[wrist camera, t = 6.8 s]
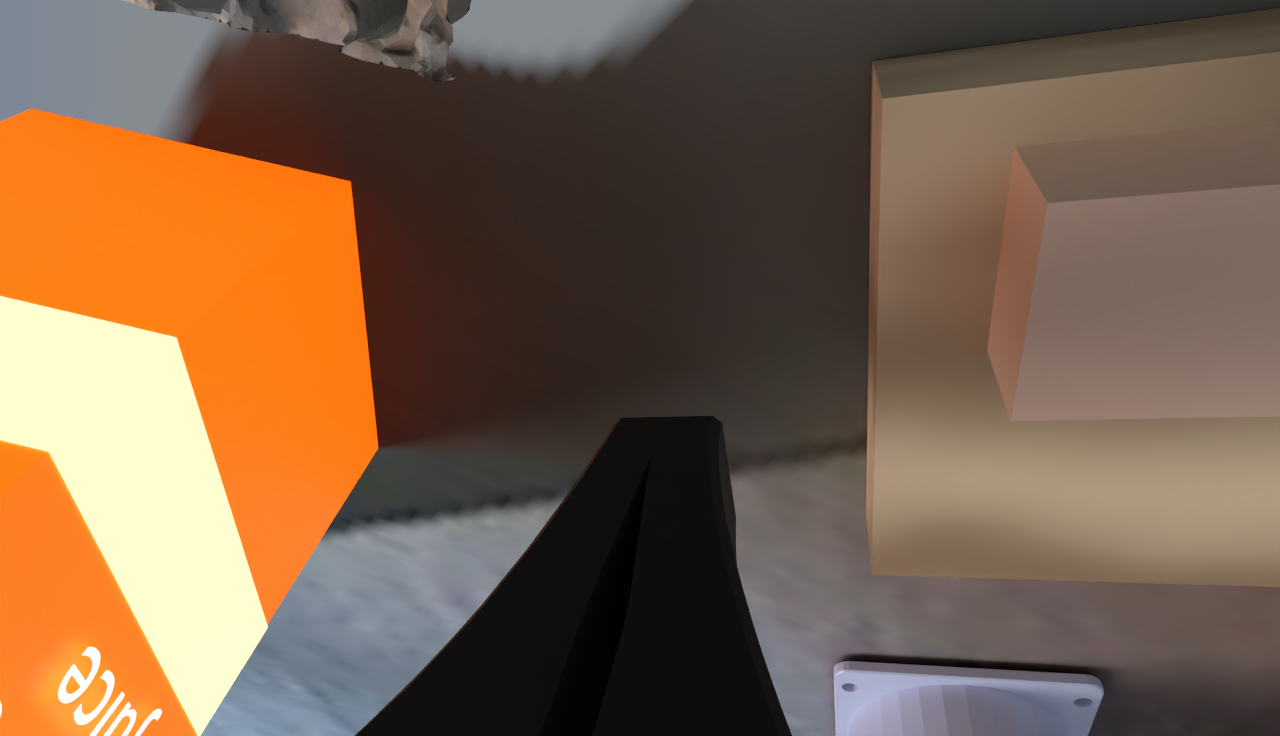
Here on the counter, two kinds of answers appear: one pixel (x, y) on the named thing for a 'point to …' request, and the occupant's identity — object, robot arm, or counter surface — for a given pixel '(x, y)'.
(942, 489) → the flat wooden plank
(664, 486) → the robot arm
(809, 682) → the counter surface
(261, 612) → the orange juice
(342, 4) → the egg carton
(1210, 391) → the terracotta tile
